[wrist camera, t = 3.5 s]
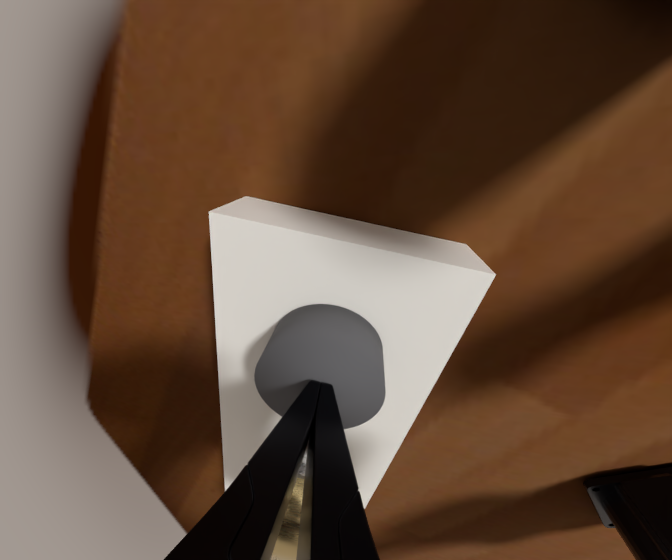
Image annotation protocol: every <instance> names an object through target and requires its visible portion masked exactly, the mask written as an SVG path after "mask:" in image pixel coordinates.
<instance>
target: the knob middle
mask: <svg viewBox="0 0 672 560" xmlns="http://www.w3.org/2000/svg"><path fill="white" fill-rule="evenodd" d="M308 442H309V441H308ZM307 449H308V445H307ZM307 449H306V452H305V455H304V458H303V461H302V464H301V468H300V471H299V474H298V477H297V480H296V483H295V486H294V489H293V492H292V495H291V498H290V501H289V504H288V507H287V510H286V513H285V516H284V520H283V523H282V526H281V529H280V532H279V535H278V538H277V541H276V544H275V547H274V550H273V553H272V556H271V559H270V560H296V557H297V547H298V537H299V527H300V517H301V507H302V497H303V487H304V477H305V467H306V457H307Z"/></svg>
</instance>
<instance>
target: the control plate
mask: <svg viewBox="0 0 672 560" xmlns="http://www.w3.org/2000/svg"><path fill="white" fill-rule="evenodd" d="M209 223H210V240H211V257H212V274H213V292H214V309H215V326H216V343H217V360H218V378H219V395H220V412H221V429H222V447H223V464H224V481H225V491H226V490H227V489H228V487H229V486H230V485H231V483H232V482H233V481H234V480H235V478H236V477H237V476H238V475H239V473H240V472H241V471H242V469H243V468H244V467H245V465H248V462H249V460H250V459H251V458H252V456H253V455H254V454H255V452H256V451H257V450H258V448H259V447H260V446H261V444H262V443H263V442H264V440H265V439H266V438H267V436H268V435H269V434H270V432H271V431H272V430H273V428H274V427H275V426H276V424H277V423H278V422H279V420H280V419H281V418H282V416H280V415H279V414H277V413H276V412H275V411H273V410H272V409H271V408H270V407H269V406H268V405H267V404H266V403H265V402H264V400H263V399H262V398H261V396H260V394H259V393H258V390H257V388H256V385H255V379H254V373H255V368H256V365H257V363H258V361H259V359H260V357H261V355H262V353H263V351H264V349H265V347H266V345H267V343H268V341H269V339H270V337H271V335H272V334H273V332H274V330H275V328H276V326H277V324H278V323H279V321H280V320H281V319H282V318H283V317H284V316H285V315H286V314H288V313H289V312H291V311H293V310H295V309H297V308H299V307H303V306H306V305H312V304H330V305H336V306H340V307H344V308H346V309H349V310H351V311H353V312H355V313H357V314H359V315H360V316H362V317H363V318H365V319H366V320H367V321H368V322H369V323H370V324H371V325H372V326H373V327H374V328H375V330H376V331H377V333H378V335H379V337H380V339H381V342H382V346H383V360H384V375H385V391H386V394H385V400H384V403H383V405H382V407H381V409H380V410H379V412H378V413H377V414H376V415H375V416H374V417H373V418H372V419H370V420H369V421H367V422H365V423H363V424H361V425H359V426H356V427H353V428H348V429H344V432H345V436H346V440H347V444H348V448H349V452H350V456H351V460H352V464H353V467H354V471H355V475H356V479H357V483H358V487H359V489H358V491H359V492H360V495H361V499H362V503H363V507H364V509H365V507H366V506H367V504H368V502H369V500H370V498H371V497H372V495H373V493H374V491H375V490H376V488H377V486H378V484H379V482H380V481H381V479H382V477H383V475H384V474H385V472H386V470H387V468H388V466H389V465H390V463H391V461H392V459H393V458H394V456H395V454H396V452H397V450H398V449H399V447H400V445H401V443H402V441H403V440H404V438H405V436H406V434H407V433H408V431H409V429H410V427H411V425H412V424H413V422H414V420H415V418H416V417H417V415H418V413H419V411H420V409H421V408H422V406H423V404H424V402H425V401H426V399H427V397H428V395H429V393H430V392H431V390H432V388H433V386H434V384H435V383H436V381H437V379H438V377H439V376H440V374H441V372H442V370H443V368H444V367H445V365H446V363H447V361H448V360H449V358H450V356H451V354H452V352H453V351H454V349H455V347H456V345H457V344H458V342H459V340H460V338H461V336H462V335H463V333H464V331H465V329H466V327H467V326H468V324H469V322H470V320H471V319H472V317H473V315H474V313H475V311H476V310H477V308H478V306H479V304H480V303H481V301H482V299H483V297H484V295H485V294H486V292H487V290H488V288H489V287H490V285H491V283H492V281H493V279H494V278H495V276H496V274H495V273H494V272H493V271H492V270H491V269H490V268H489V267H488V266H487V265H486V264H485V263H484V262H483V261H482V260H481V259H480V258H479V257H478V256H477V255H476V254H475V253H474V252H473V251H472V250H471V249H470V248H469V247H468V245H467V244H463V243H458V242H454V241H449V240H444V239H440V238H435V237H431V236H426V235H422V234H417V233H412V232H408V231H403V230H399V229H394V228H390V227H385V226H380V225H376V224H371V223H367V222H362V221H358V220H353V219H348V218H344V217H339V216H335V215H330V214H326V213H321V212H316V211H312V210H307V209H303V208H298V207H293V206H289V205H284V204H280V203H275V202H271V201H266V200H261V199H257V198H252V197H248V196H245V197H243V198H241V199H238V200H236V201H233V202H231V203H228V204H226V205H223V206H221V207H219V208H216V209H214V210H211V211H209Z"/></svg>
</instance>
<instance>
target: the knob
mask: <svg viewBox="0 0 672 560" xmlns="http://www.w3.org/2000/svg"><path fill="white" fill-rule="evenodd" d="M254 379H255V385H256V388H257V390H258V393H259V394H260V396H261V398H262V399H263V400H264V402H265V403H266V404H267V405H268V406H269V407H270V408H271V409H272V410H273V411H275V412H276V413H277V414H279V415H280V416H283V415H284V414H285V412H286V411H287V410H288V408H289V407H290V406H291V404H292V403H293V402H294V400H295V399H296V398H297V397H298V395H299V394H300V393H301V391H302V390H303V389H304V387H305V386H306V385H307V383H308V382H309V381H310V380H315V381H320V382H321V383H323V382H324V383H329V384H332V385H333V388H334V392H335V396H336V400H337V404H338V408H339V412H340V416H341V420H342V424H343V428H344V429H348V428H353V427H356V426H359V425H361V424H363V423H365V422H367V421H369V420H370V419H372V418H373V417H374V416H375V415H376V414H377V413H378V412H379V410H380V409H381V407H382V405H383V403H384V400H385V394H386V391H385V375H384V360H383V346H382V342H381V339H380V337H379V335H378V333H377V331H376V330H375V328H374V327H373V326H372V325H371V324H370V323H369V322H368V321H367V320H366V319H365V318H363V317H362V316H360V315H359V314H357V313H355V312H353V311H351V310H349V309H346V308H344V307H340V306H336V305H330V304H312V305H306V306H303V307H299V308H297V309H295V310H293V311H291V312H289V313H288V314H286V315H285V316H284V317H283V318H282V319H281V320H280V321H279V323H278V324H277V326H276V328H275V330H274V332H273V334H272V335H271V337H270V339H269V341H268V343H267V345H266V347H265V349H264V351H263V353H262V355H261V357H260V359H259V361H258V363H257V365H256V368H255V373H254Z"/></svg>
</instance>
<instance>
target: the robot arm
mask: <svg viewBox="0 0 672 560" xmlns="http://www.w3.org/2000/svg"><path fill="white" fill-rule="evenodd" d="M308 441H309V442H308ZM307 445H308V449H307ZM306 449H307V457H306V467H305V477H304V487H303V497H302V507H301V517H300V527H299V537H298V547H297V557H296V560H380V559H379V556H378V553H377V550H376V547H375V544H374V541H373V537H372V534H371V531H370V528H369V525H368V521H367V517H366V514H365V510H364V507H363V503H362V499H361V495H360V492H359V491H358V489H359V487H358V483H357V479H356V475H355V471H354V467H353V464H352V460H351V456H350V452H349V448H348V444H347V440H346V436H345V432H344V428H343V424H342V420H341V416H340V412H339V408H338V404H337V400H336V396H335V392H334V388H333V385H332V384H329V383H324V382H323V383H321V382H320V381H315V380H310V381H309V382H308V383H307V385H306V386H305V387H304V389H303V390H302V391H301V393H300V394H299V395H298V397H297V398H296V399H295V400H294V402H293V403H292V404H291V406H290V407H289V408H288V410H287V411H286V412H285V414H284V415H283V416H282V418H281V419H280V420H279V422H278V423H277V424H276V426H275V427H274V428H273V430H272V431H271V432H270V434H269V435H268V436H267V438H266V439H265V440H264V442H263V443H262V444H261V446H260V447H259V448H258V450H257V451H256V452H255V454H254V455H253V456H252V458H251V459H250V460H249V462H248V465H245V467H244V468H243V469H242V471H241V472H240V473H239V475H238V476H237V477H236V478H235V480H234V481H233V482H232V483H231V485H230V486H229V487H228V489H227V490H226V491H225V492H224V494H223V495H222V496H221V497H220V498H219V499H218V500H217V502H216V503H215V504H214V505H213V506H212V507H211V508H210V510H209V511H208V512H207V513H206V514H205V515H204V516H203V517H202V519H201V520H200V521H199V522H198V523H197V524H196V525H195V526H194V527H193V528H192V529H191V530H190V532H189V533H188V534H187V535H186V536H185V537H184V538H183V539H182V540H181V541H180V543H179V544H178V545H177V546H176V547H175V548H174V549H173V550H172V551H171V552H170V553H169V554H168V556H167V557H166V558H165V559H164V560H270V559H271V556H272V553H273V550H274V547H275V544H276V541H277V538H278V535H279V532H280V529H281V526H282V523H283V520H284V516H285V513H286V510H287V507H288V504H289V501H290V498H291V495H292V492H293V489H294V486H295V483H296V480H297V477H298V474H299V471H300V468H301V464H302V461H303V458H304V455H305V452H306ZM583 484H584V486H585V488H586V491H587V493H588V495H589V497H590V499H591V501H592V503H593V505H594V507H595V509H596V511H597V513H598V515H599V518H600V519H601V521H602V523H603V524H604V526H605V527H607V528H616V529H617V531H618V533H619V534H620V536H621V537H622V539H623V540H624V542H625V543H626V545H627V547H628V548H629V550H630V551H631V553H632V554H633V556H634V557H635V559H636V560H672V467H667V468H660V469H654V470H647V471H641V472H634V473H628V474H621V475H614V476H608V477H601V478H595V479H589V480H586V481H584V482H583Z"/></svg>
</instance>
